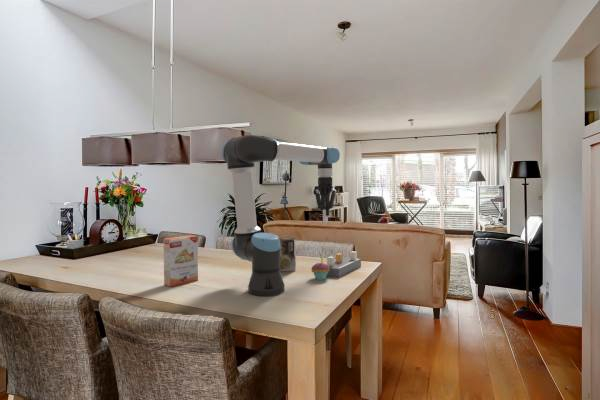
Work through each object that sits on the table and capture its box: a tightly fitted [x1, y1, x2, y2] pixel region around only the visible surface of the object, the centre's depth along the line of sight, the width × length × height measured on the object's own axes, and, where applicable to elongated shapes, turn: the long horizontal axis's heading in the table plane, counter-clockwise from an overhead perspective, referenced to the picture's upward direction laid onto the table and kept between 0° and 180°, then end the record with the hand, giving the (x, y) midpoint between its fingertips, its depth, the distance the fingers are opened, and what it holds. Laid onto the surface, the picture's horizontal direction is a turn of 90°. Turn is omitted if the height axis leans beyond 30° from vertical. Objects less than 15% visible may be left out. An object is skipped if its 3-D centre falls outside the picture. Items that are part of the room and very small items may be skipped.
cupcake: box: [311, 252, 330, 281], centre depth 163 cm, size 9×8×12 cm
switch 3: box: [349, 250, 358, 260], centre depth 184 cm, size 3×2×4 cm
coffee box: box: [279, 237, 297, 272], centre depth 179 cm, size 9×6×16 cm
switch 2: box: [335, 252, 344, 263], centre depth 179 cm, size 3×2×4 cm
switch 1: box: [326, 256, 335, 266], centre depth 171 cm, size 3×2×4 cm
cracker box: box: [163, 234, 199, 288], centre depth 157 cm, size 14×6×21 cm, turn 139°
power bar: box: [326, 256, 362, 278], centre depth 178 cm, size 26×9×4 cm, turn 147°
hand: (325, 222), depth 182 cm, fingers closed
